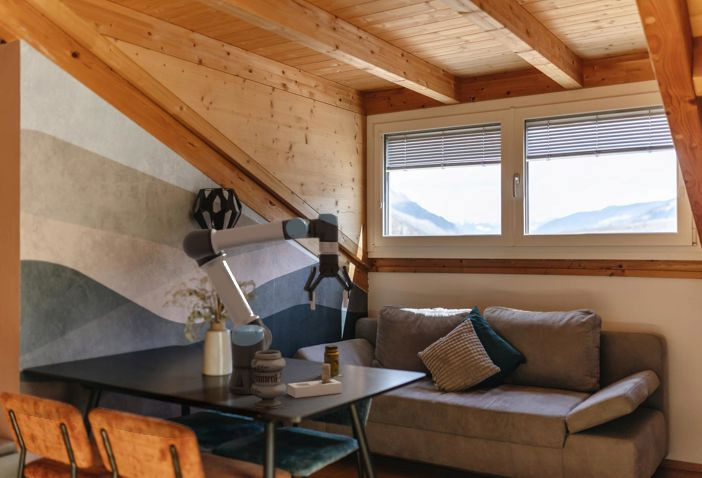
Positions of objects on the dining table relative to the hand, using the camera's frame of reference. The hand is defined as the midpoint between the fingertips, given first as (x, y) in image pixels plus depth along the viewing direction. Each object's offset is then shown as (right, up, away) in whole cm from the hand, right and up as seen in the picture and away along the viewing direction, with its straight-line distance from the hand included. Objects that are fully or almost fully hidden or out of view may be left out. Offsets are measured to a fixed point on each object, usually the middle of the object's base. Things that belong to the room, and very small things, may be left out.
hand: (329, 308), depth 276 cm
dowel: (-1, -29, -16) cm, 33 cm away
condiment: (0, -29, +16) cm, 33 cm away
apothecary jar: (-19, -29, -37) cm, 50 cm away
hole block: (-5, -29, -18) cm, 34 cm away
